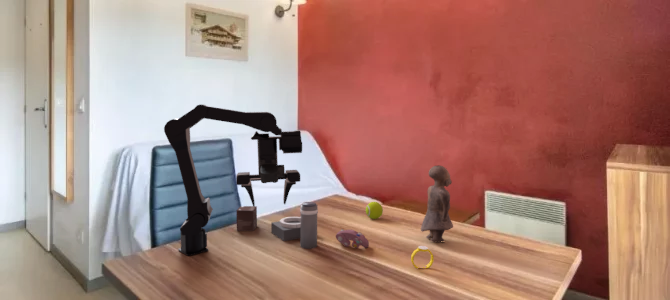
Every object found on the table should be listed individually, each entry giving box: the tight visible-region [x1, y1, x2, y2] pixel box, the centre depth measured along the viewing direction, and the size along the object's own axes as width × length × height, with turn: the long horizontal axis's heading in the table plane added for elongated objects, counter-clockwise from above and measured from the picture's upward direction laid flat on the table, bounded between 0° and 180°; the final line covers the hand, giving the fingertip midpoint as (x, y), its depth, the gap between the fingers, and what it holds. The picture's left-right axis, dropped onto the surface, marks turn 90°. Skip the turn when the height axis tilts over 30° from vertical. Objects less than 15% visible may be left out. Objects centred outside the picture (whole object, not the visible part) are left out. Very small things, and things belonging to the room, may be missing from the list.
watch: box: [410, 245, 435, 269], centre depth 110 cm, size 6×3×6 cm, turn 96°
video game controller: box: [335, 228, 370, 249], centre depth 125 cm, size 10×5×7 cm
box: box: [236, 205, 258, 232], centre depth 142 cm, size 6×6×7 cm
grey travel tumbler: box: [299, 201, 319, 250], centre depth 125 cm, size 5×5×14 cm
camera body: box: [270, 216, 301, 242], centre depth 136 cm, size 12×10×5 cm
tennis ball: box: [365, 201, 384, 220], centre depth 157 cm, size 7×7×7 cm
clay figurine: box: [420, 165, 454, 243], centre depth 131 cm, size 13×10×25 cm
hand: (269, 205), depth 122 cm, fingers open, 9 cm apart
